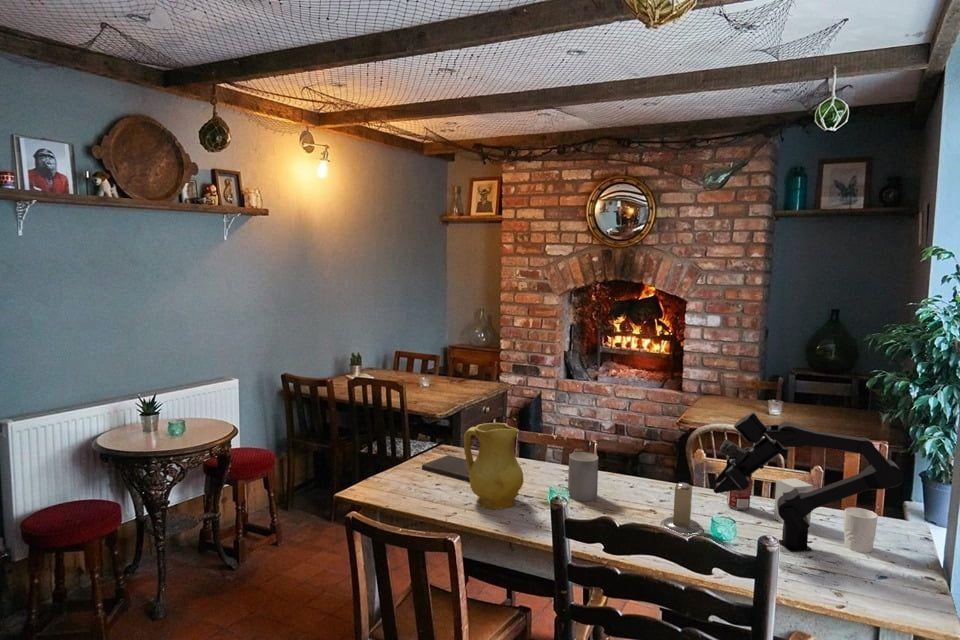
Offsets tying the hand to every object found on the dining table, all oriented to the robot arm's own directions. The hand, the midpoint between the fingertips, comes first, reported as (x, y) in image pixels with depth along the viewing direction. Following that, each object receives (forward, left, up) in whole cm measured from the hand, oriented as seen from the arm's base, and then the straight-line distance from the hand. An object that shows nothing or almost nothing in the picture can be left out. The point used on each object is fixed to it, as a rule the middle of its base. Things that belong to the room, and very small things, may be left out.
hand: (715, 486), depth 183 cm
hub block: (+4, +7, -12) cm, 15 cm away
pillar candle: (+31, +29, -14) cm, 45 cm away
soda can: (+18, -19, -14) cm, 29 cm away
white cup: (-13, -37, -14) cm, 41 cm away
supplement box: (+5, -29, -14) cm, 32 cm away
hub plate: (+4, +7, -14) cm, 16 cm away
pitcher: (+29, +59, -14) cm, 68 cm away
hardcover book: (+60, +67, -14) cm, 92 cm away
